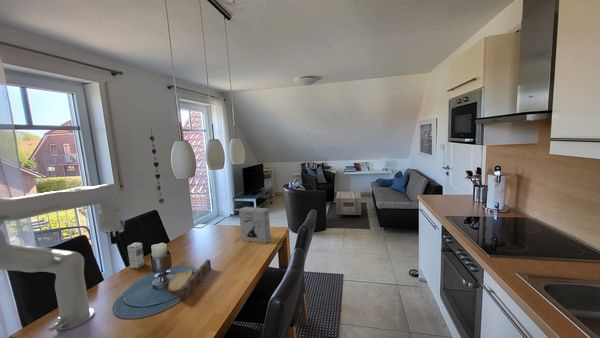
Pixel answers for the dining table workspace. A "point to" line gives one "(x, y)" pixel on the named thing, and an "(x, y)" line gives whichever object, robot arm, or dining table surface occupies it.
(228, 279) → the dining table surface
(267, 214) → the cereal box
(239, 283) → the dining table surface
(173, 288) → the bread slice
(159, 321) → the dining table surface
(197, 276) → the walnut board
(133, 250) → the syrup box
